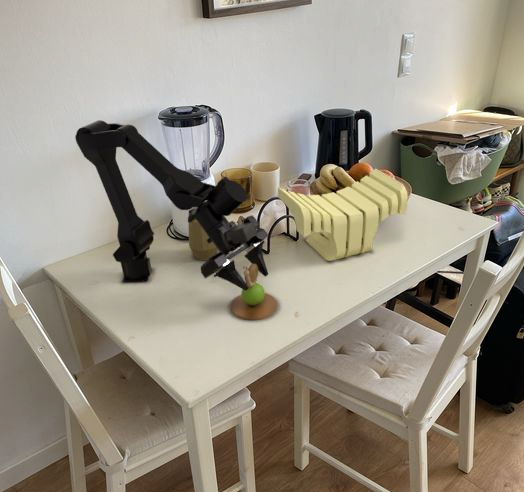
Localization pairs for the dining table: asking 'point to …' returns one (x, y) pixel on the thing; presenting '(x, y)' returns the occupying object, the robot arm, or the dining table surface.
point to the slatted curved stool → (346, 214)
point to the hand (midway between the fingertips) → (257, 282)
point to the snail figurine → (252, 286)
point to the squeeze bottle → (200, 241)
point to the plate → (254, 308)
